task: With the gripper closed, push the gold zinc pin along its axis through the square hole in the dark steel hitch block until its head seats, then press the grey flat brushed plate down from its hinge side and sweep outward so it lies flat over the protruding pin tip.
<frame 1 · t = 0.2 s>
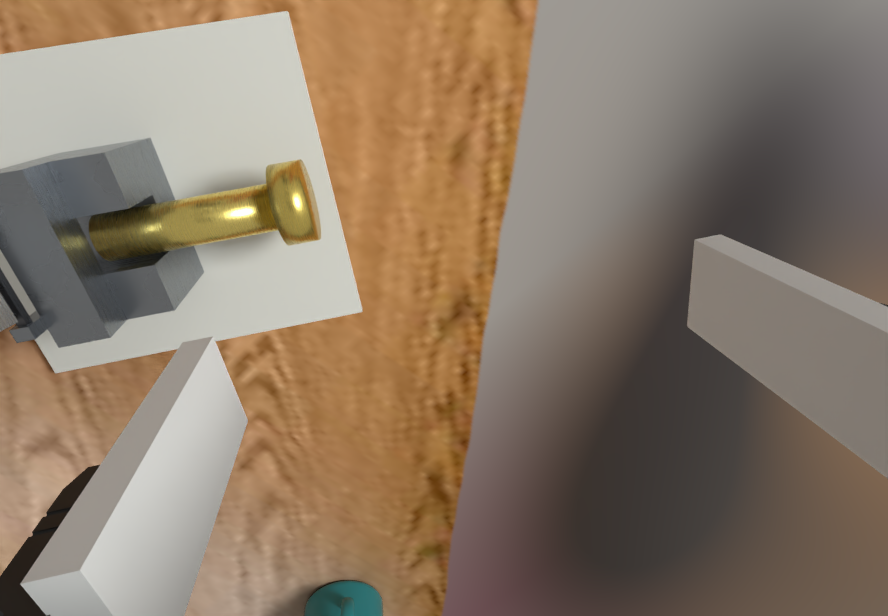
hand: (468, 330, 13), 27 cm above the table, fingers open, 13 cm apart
mat: (161, 210, 36), on the table
pin: (209, 218, 31), point 6 cm above the table, slide at 0.0 cm
hitch block: (140, 214, 36), resting on mat
cup: (345, 593, 57), on the table
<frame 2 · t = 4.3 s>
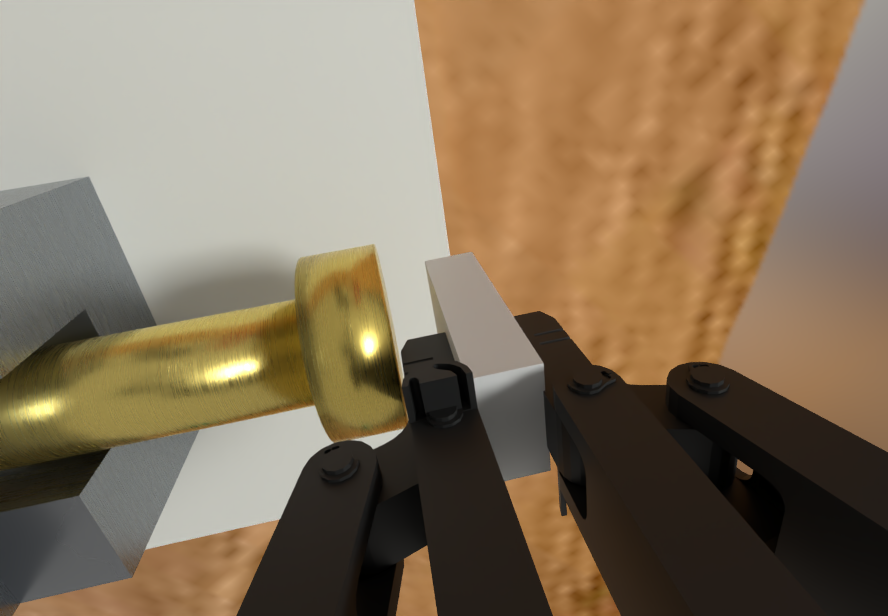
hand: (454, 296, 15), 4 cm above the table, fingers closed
mat: (117, 316, 18), on the table
pin: (157, 381, 13), point 6 cm above the table, slide at 1.5 cm, touching gripper
hitch block: (74, 324, 18), resting on mat
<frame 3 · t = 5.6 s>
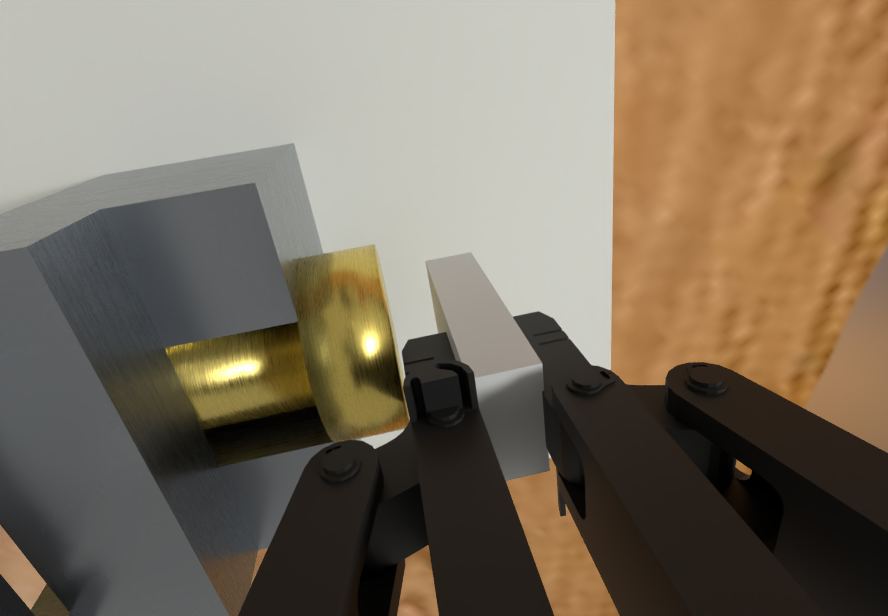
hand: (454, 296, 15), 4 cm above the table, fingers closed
mat: (292, 284, 18), on the table
pin: (157, 382, 13), point 6 cm above the table, slide at 8.0 cm, touching gripper, hitch block
hitch block: (252, 291, 18), resting on mat
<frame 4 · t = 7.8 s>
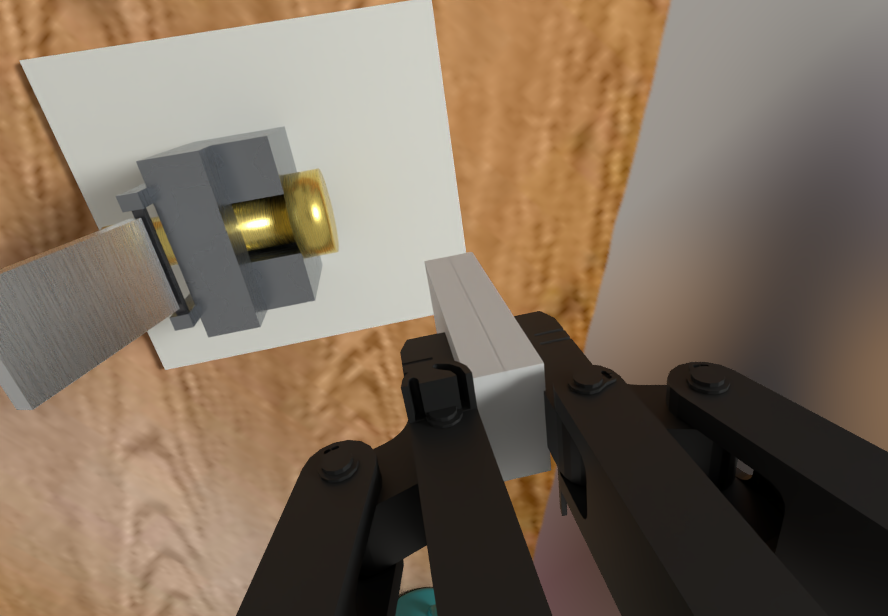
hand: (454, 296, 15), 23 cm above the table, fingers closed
mat: (284, 202, 35), on the table
pin: (223, 230, 30), point 6 cm above the table, slide at 8.0 cm, touching hitch block
grey flat brushed plate: (86, 302, 21), point 15 cm above the table, hinge at 20.0°
hitch block: (264, 205, 35), resting on mat
cup: (425, 600, 56), on the table
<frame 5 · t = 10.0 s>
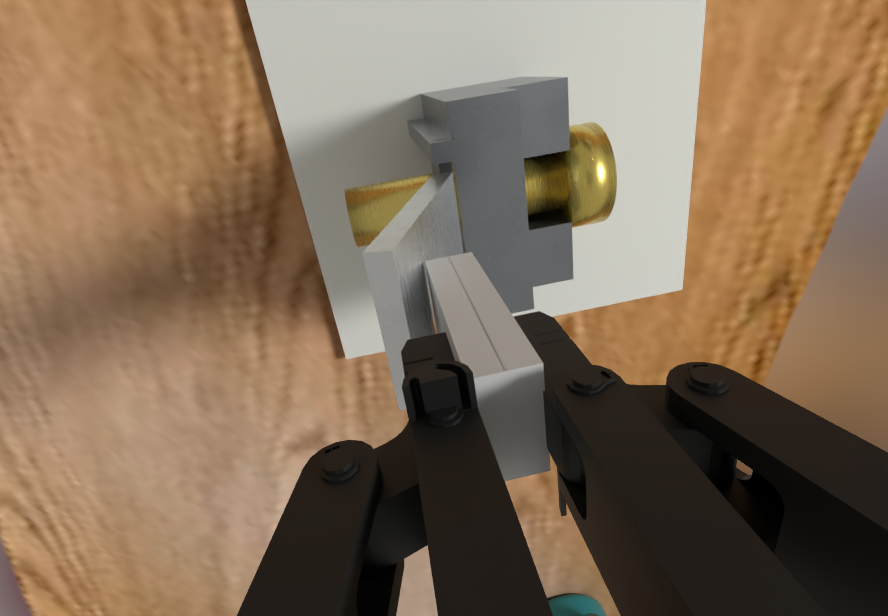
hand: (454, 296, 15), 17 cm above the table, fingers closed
mat: (502, 167, 31), on the table
pin: (475, 195, 25), point 6 cm above the table, slide at 8.0 cm, touching hitch block
grey flat brushed plate: (429, 273, 17), point 15 cm above the table, hinge at 20.0°, touching gripper
hitch block: (479, 171, 31), resting on mat
cup: (564, 607, 52), on the table
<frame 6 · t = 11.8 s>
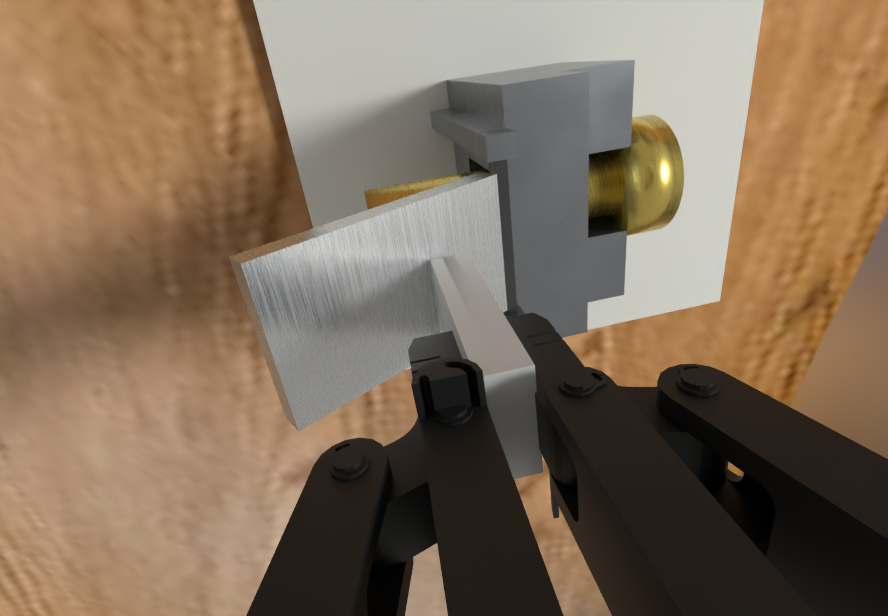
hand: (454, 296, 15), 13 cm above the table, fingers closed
mat: (533, 165, 27), on the table
pin: (514, 198, 22), point 6 cm above the table, slide at 8.0 cm, touching hitch block
grey flat brushed plate: (397, 289, 15), point 13 cm above the table, hinge at 60.0°, touching gripper
hitch block: (508, 170, 27), resting on mat
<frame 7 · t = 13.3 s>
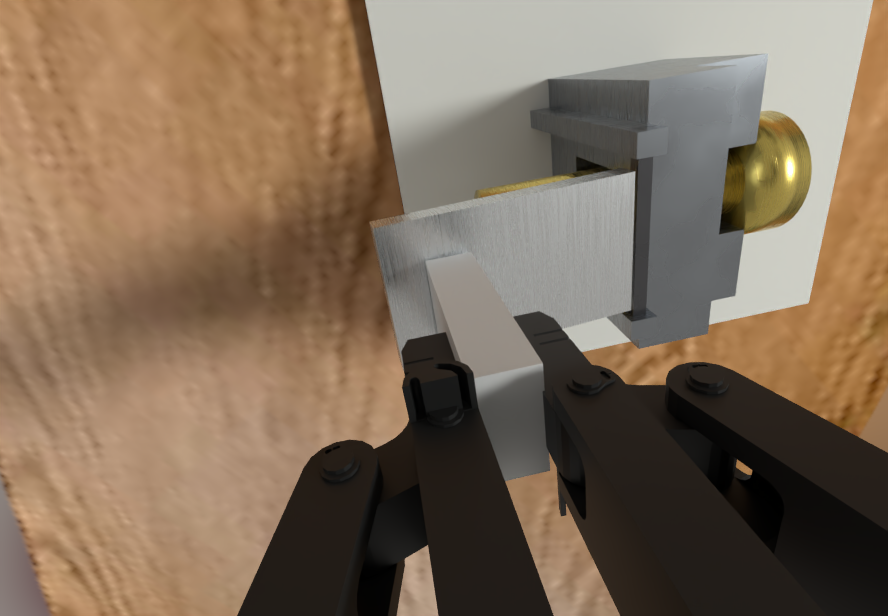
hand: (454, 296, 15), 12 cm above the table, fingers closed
mat: (627, 165, 27), on the table
pin: (625, 198, 21), point 6 cm above the table, slide at 8.0 cm, touching hitch block
grey flat brushed plate: (512, 270, 16), point 11 cm above the table, hinge at 84.1°, touching gripper
hitch block: (601, 170, 27), resting on mat
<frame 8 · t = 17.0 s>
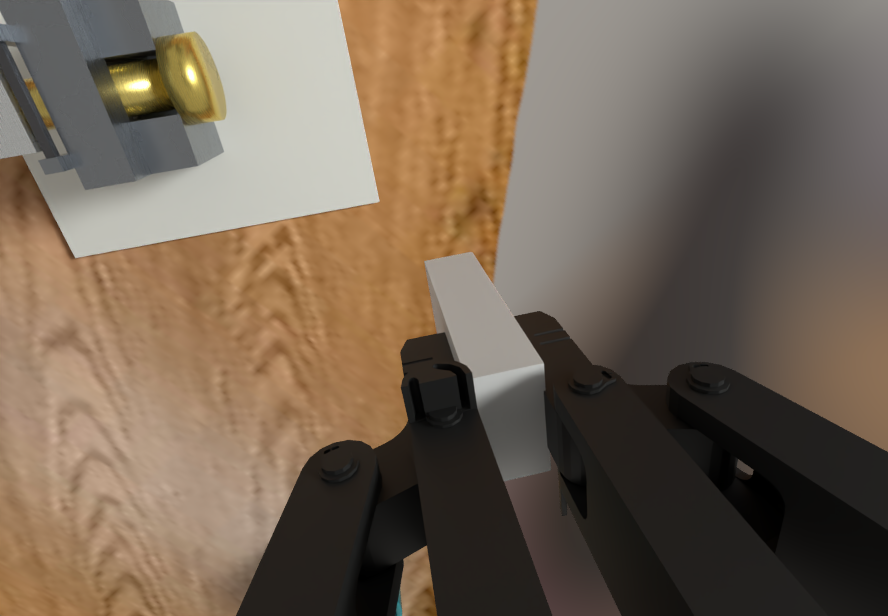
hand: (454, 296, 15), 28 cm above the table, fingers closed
mat: (182, 85, 36), on the table
pin: (105, 94, 31), point 6 cm above the table, slide at 8.0 cm, touching hitch block
hitch block: (161, 88, 36), resting on mat
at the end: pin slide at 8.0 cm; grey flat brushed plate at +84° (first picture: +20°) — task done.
